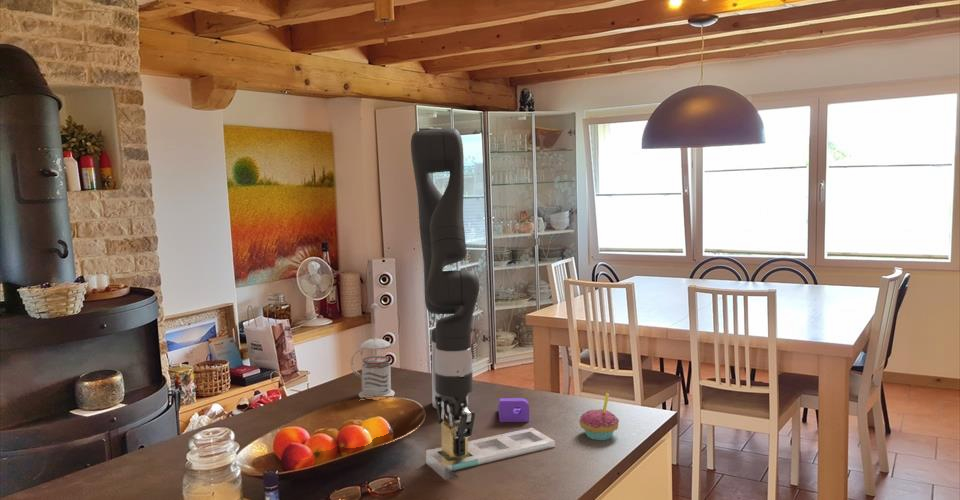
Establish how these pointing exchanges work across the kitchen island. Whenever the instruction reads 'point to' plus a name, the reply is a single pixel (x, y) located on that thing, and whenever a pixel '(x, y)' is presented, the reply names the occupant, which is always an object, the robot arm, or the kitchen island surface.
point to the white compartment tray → (490, 450)
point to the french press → (375, 369)
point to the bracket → (513, 410)
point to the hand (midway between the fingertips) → (454, 451)
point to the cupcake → (599, 422)
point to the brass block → (450, 442)
